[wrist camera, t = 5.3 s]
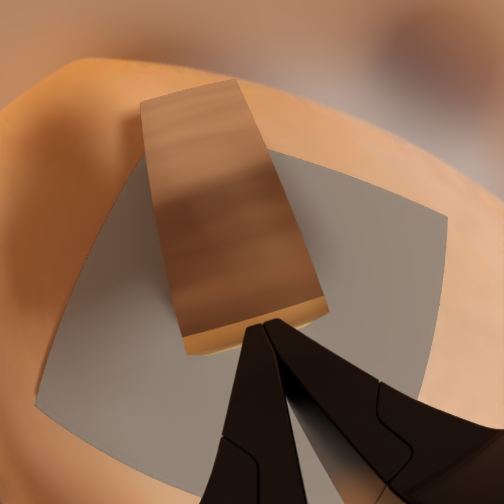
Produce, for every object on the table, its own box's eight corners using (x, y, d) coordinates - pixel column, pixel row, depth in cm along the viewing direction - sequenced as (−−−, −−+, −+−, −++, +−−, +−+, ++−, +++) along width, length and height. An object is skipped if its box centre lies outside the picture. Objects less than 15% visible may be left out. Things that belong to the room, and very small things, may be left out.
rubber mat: (357, 522, 12) (361, 528, 11) (41, 405, 14) (34, 405, 13) (441, 221, 18) (447, 216, 17) (166, 131, 20) (163, 123, 19)
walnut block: (329, 311, 10) (235, 79, 14) (186, 354, 10) (139, 102, 13) (304, 326, 15) (237, 138, 19) (206, 356, 14) (160, 158, 18)
